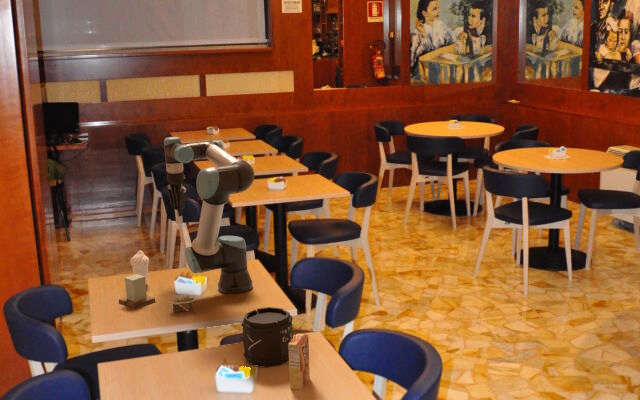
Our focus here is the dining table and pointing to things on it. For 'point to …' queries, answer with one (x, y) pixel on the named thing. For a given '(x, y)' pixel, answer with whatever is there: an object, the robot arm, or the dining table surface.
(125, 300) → the post base
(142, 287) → the sage cap
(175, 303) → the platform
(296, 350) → the candy box
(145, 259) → the soft serve ice cream cone
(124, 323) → the dining table surface
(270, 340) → the wooden barrel
